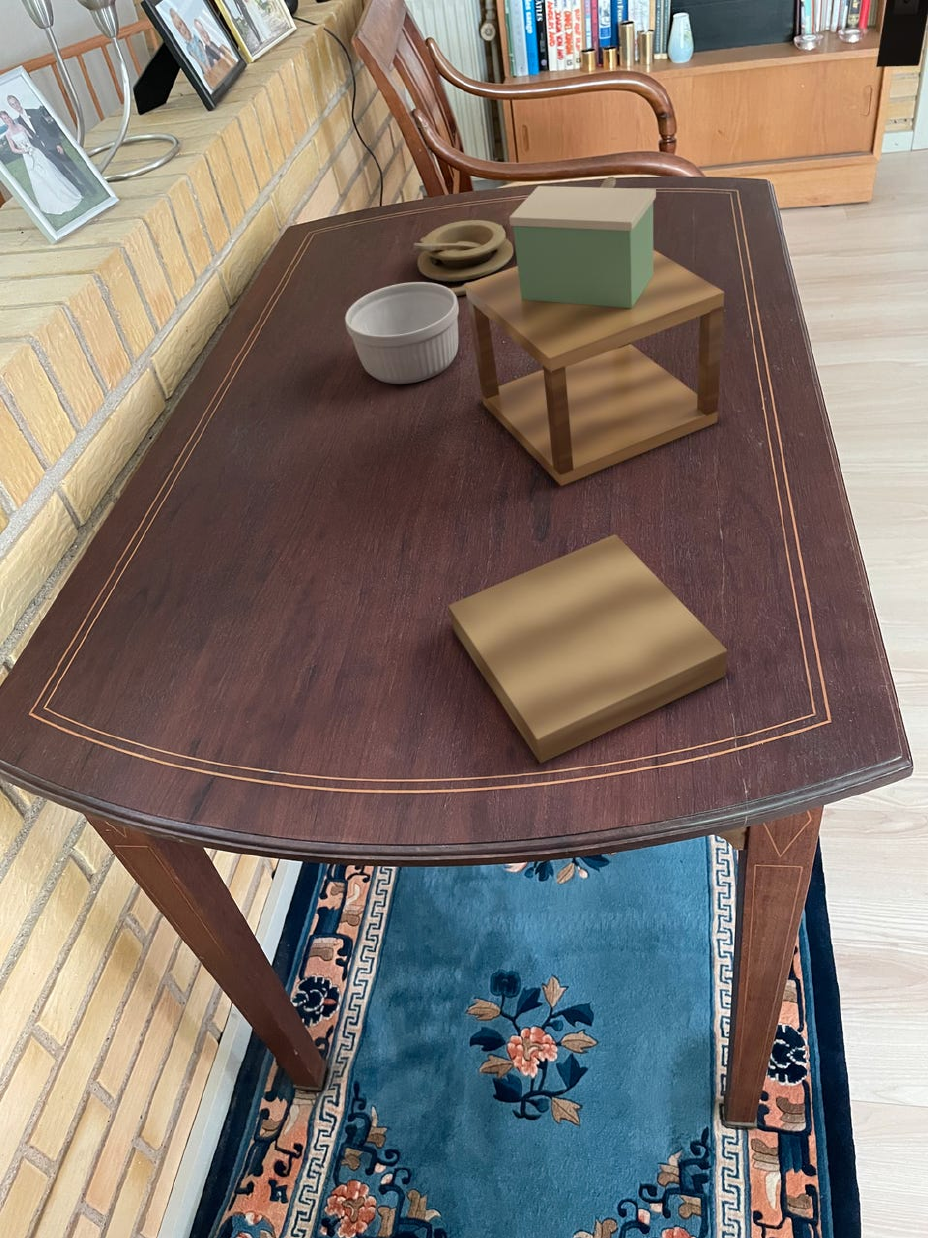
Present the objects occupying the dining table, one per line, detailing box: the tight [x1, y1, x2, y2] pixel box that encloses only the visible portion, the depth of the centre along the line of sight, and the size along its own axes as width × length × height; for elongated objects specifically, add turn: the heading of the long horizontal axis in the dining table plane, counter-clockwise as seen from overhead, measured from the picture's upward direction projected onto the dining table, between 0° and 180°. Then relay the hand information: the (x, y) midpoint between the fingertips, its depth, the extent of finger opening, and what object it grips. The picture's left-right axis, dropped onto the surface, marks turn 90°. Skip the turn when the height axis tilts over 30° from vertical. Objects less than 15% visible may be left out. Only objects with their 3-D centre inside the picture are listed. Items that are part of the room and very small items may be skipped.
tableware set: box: [412, 176, 617, 297], centre depth 125 cm, size 30×20×6 cm, turn 94°
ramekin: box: [344, 281, 460, 385], centre depth 108 cm, size 13×13×7 cm
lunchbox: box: [508, 185, 657, 308], centre depth 85 cm, size 11×7×8 cm, turn 64°
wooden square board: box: [447, 533, 728, 764], centre depth 73 cm, size 16×16×3 cm
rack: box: [464, 249, 725, 487], centre depth 92 cm, size 18×18×14 cm
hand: (911, 34), depth 68 cm, fingers open, 13 cm apart
